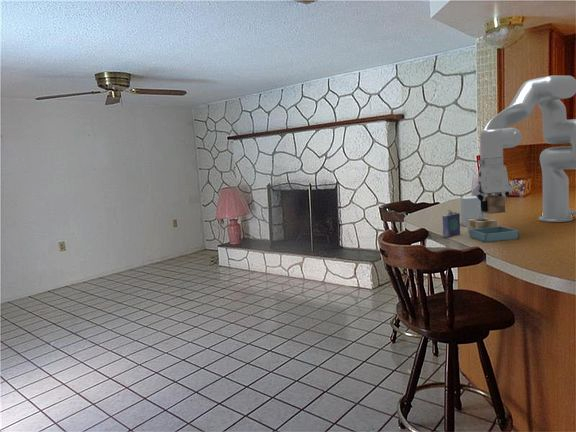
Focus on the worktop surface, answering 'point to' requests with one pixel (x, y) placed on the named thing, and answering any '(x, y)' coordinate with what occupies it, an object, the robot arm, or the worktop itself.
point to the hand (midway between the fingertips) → (492, 209)
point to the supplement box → (469, 209)
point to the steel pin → (481, 213)
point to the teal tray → (494, 234)
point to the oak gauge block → (481, 223)
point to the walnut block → (495, 204)
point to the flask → (451, 224)
